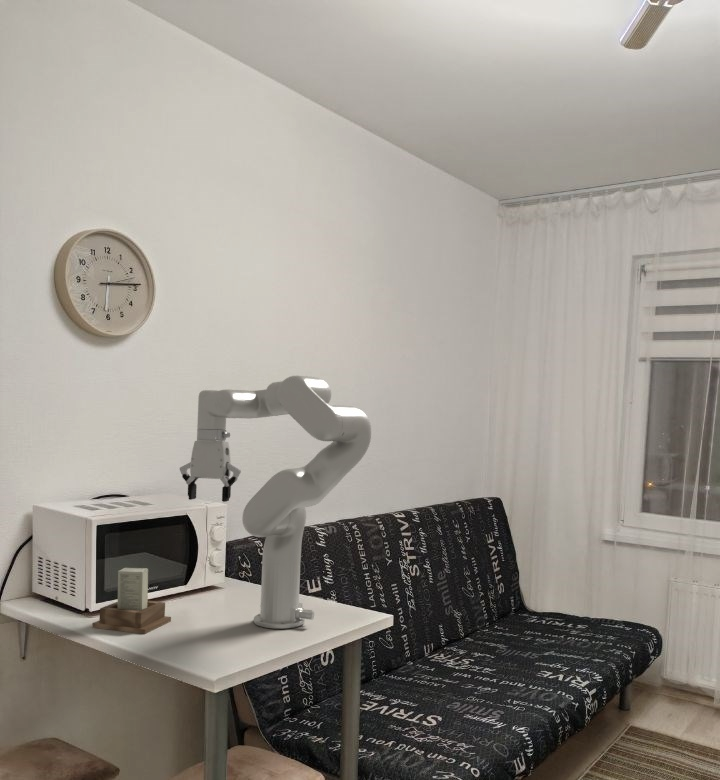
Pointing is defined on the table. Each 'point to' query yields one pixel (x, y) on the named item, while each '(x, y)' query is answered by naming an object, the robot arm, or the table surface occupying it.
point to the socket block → (132, 618)
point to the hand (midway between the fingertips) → (208, 500)
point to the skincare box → (132, 588)
